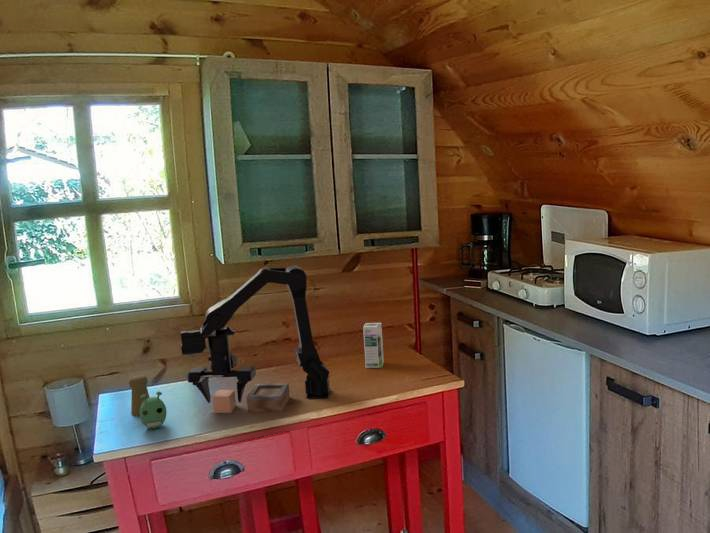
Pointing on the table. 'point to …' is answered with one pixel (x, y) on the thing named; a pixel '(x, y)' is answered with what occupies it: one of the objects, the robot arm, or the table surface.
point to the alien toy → (153, 411)
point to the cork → (138, 392)
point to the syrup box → (373, 345)
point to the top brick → (224, 401)
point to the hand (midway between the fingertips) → (224, 402)
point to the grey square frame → (268, 397)
